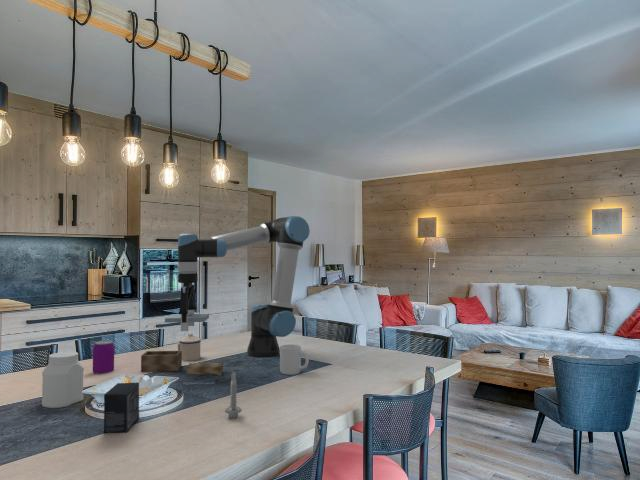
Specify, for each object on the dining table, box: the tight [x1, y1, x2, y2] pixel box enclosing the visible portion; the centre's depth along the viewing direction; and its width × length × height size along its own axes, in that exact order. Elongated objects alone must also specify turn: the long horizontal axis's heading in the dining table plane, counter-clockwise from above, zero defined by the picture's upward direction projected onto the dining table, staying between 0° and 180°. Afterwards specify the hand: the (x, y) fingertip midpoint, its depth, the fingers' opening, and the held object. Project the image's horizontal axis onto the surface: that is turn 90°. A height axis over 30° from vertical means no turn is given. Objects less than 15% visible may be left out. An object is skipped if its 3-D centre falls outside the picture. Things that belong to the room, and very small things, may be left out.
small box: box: [103, 382, 140, 434], centre depth 127 cm, size 11×6×10 cm, turn 5°
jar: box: [41, 351, 85, 409], centre depth 146 cm, size 12×10×15 cm
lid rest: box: [186, 362, 224, 377], centre depth 180 cm, size 13×6×4 cm, turn 96°
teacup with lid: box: [177, 333, 202, 362], centre depth 203 cm, size 12×9×12 cm
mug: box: [279, 344, 310, 376], centre depth 183 cm, size 12×8×10 cm
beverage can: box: [92, 340, 115, 375], centre depth 181 cm, size 8×8×12 cm
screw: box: [224, 371, 242, 420], centre depth 134 cm, size 13×5×5 cm
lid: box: [164, 313, 210, 323], centre depth 183 cm, size 15×10×2 cm
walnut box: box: [140, 350, 183, 373], centre depth 185 cm, size 14×8×7 cm, turn 96°
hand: (187, 328), depth 183 cm, fingers closed on lid, 10 cm apart
